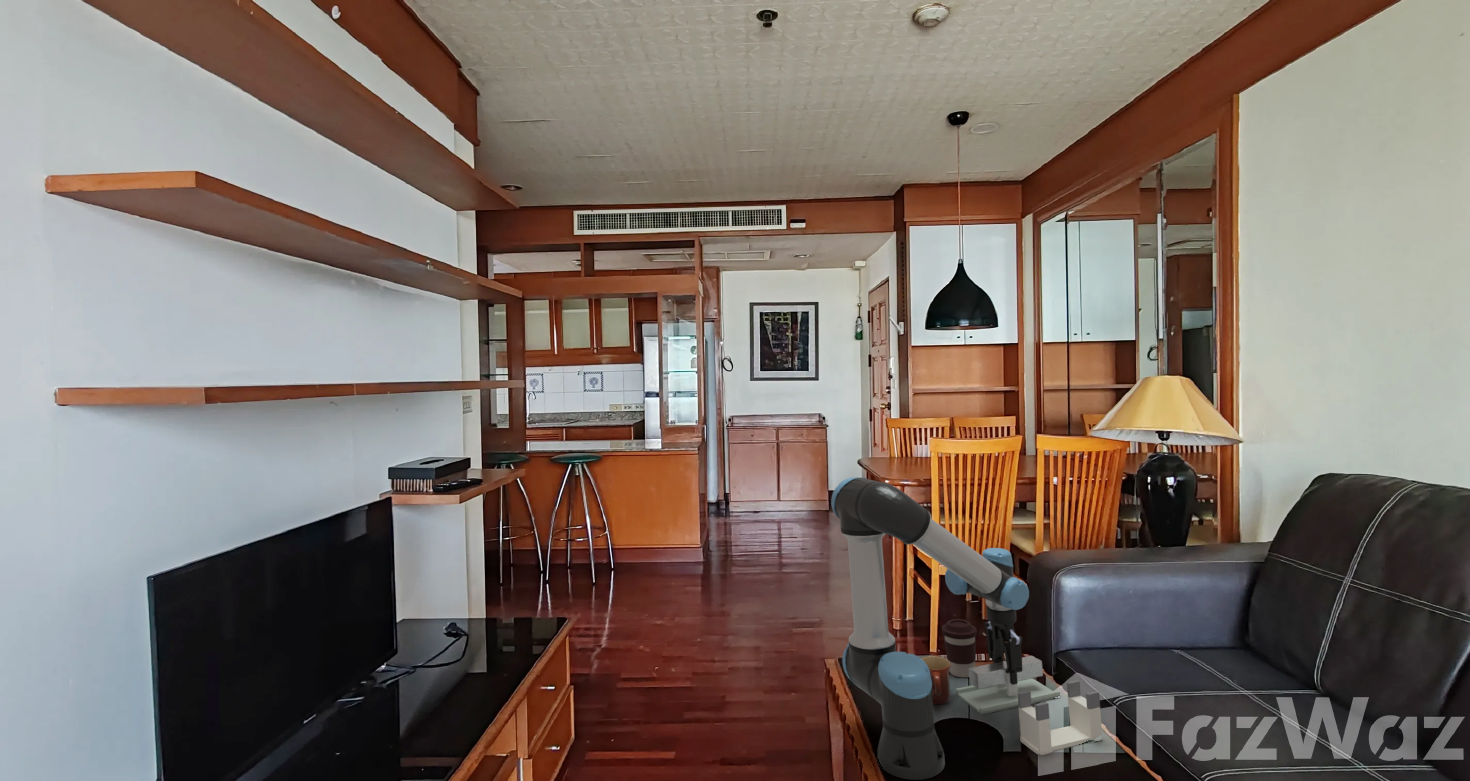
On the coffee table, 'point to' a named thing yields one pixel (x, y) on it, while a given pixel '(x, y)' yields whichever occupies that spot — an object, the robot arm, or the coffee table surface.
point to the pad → (1003, 696)
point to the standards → (1045, 740)
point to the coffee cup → (960, 646)
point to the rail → (1003, 672)
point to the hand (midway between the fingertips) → (1007, 690)
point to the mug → (939, 678)
